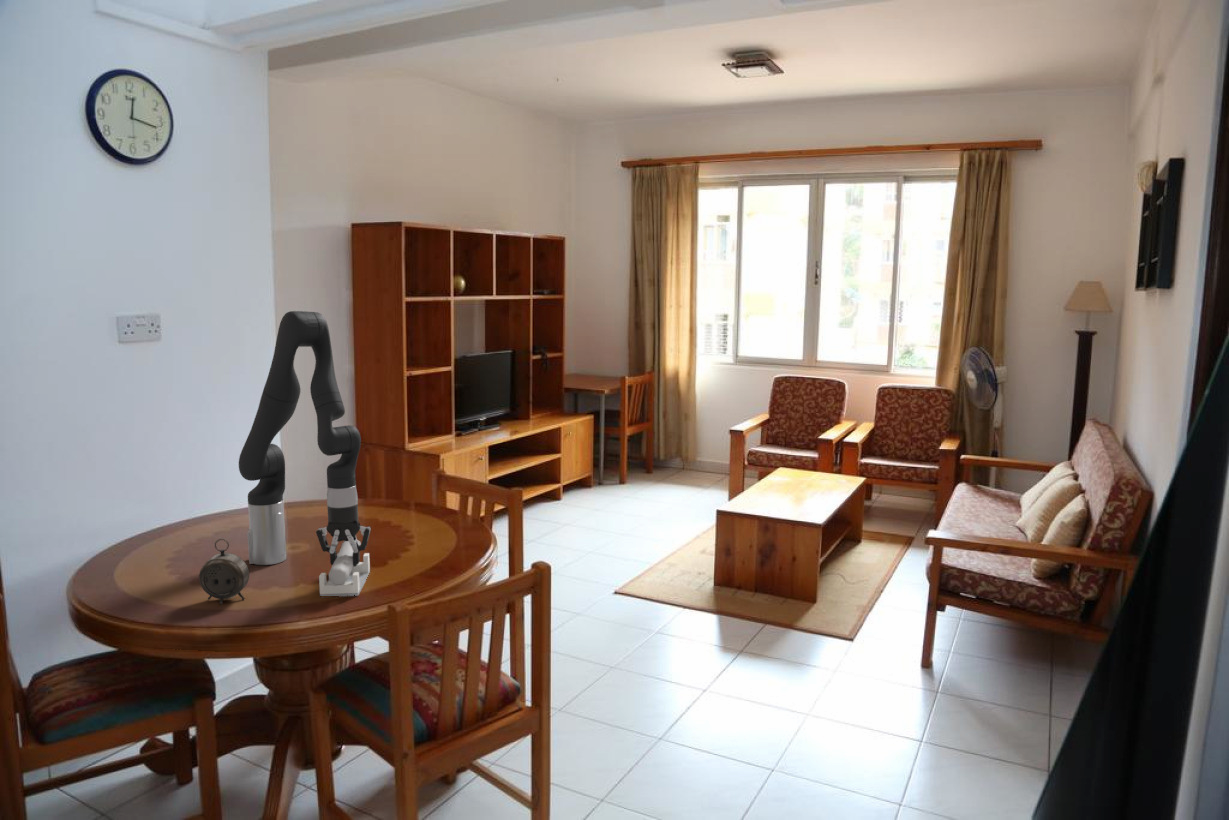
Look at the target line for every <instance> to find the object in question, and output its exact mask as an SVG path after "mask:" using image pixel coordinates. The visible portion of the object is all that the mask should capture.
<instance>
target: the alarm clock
mask: <svg viewBox="0 0 1229 820" xmlns="http://www.w3.org/2000/svg"><path fill="white" fill-rule="evenodd" d="M219 541H224V542H225V543H226V544H227V547H226V549H223V548H222V549H218V547H217V543H218V542H219ZM229 543H230V542H229V541H228V540H227V539H226V538H218V539H217V540H216V541H215V543H214V548H215V550H216V551H218V552H219V553H216V554H215V555H213V556H211V557H210V558H209V559H208V560H206V562H205V563H204V564H203V565H202V566H201V568H200V570H199V574H198V580H199V584H200V586H201V588H202V590H203V591H204V592H205V593H206V594H207V595H208V597H207V600H208V601H209V600H211V598H215V599H218V600H219V604H220V605H223V601H224V600H228V599H231V598H234V597H235V596H237V595H238V596H239V597H240V598H241V600H243V601H245V600H244V599H246V597H244V595H243V594H242V593H241V592H242V591H243V589H245V587H246V586H247V585H248V582H249V579H250V570H249V567H248V565H247V563H246V561H244V560H243V559H242V558H241V557H240V556H239V555H237V554H235V553H231V552H226V551H228V549H229V546H230V544H229Z"/></svg>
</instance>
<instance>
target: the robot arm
mask: <svg viewBox="0 0 1229 820" xmlns="http://www.w3.org/2000/svg"><path fill="white" fill-rule="evenodd" d="M330 335H331V333H330V329H329V325H328V322H327V320H326V318H325V316H324V315H323V314H322V313H320V312H315V311H305V310H304V311H302V310H293V311H292V310H290V311H288V312H285V313H284V315H283V316H282V318H281V319H280V323H279V326H278V329H277V336H276V340H275V346H274V351H273V356H272V360H271V364H270V368H269V372H268V376H267V379H266V382H265V383H264V387H263V391H262V394H261V397H260V400H259V404H258V408H257V411H256V414H255V417H254V420H253V423H252V426H251V429H250V431H249V432H248V433H249V434H248V435H247V438H246V440H245V442H244V445H243V447H242V449H241V452H240V454H239V458H238V471H239V473H240V475H241V476H242V478H243V479H244V480H246V481H252V482H253V481H255V482H256V481H258V483H257V485H256V486H254V487H253V488H252V489H251V490H249V492H248V493H247V509H248V510H247V511H248V524H249V525H248V526H249V529H248V530H247V534H246V536H247V546H248V547H247V548H248V561H249V562H248V563H249V565H251V564H252V565H253V564H254V565H256V566H257V565H258V566H268V565H269V566H270V565H275V564H280V563H281V562H284V561H286V560H287V545H286V526H285V511H284V507H285V506H284V493H285V489H286V459H285V455H284V452H283V451H282V449H281V448H280V446H278V445H277V444H275V443H272V441H273V440H274V438H275V437H276V436H277V434H278V433H279V432H280V431H281V430H282V429H283V428H284V427H285V426H286V424H287V423H288V422H289V421H290V420H291V418H292V417H293V415H294V414H295V411H296V410H297V409H296V408H297V405H298V402H299V399H300V396H301V385H300V381H299V378H298V375H297V373H296V370H295V365H294V362H295V357H296V353H297V350H298V348H301V347H302V348H303V347H311V349H312V352H313V354H314V358H315V359H314V360H315V365H314V371H313V374H312V376H311V377H312V378H311V382H310V396H311V400H312V403H313V406H314V410H315V413H316V419H317V420H316V423H317V441H316V442H317V447H318V449H319V450H320V452H321V453H322V454H324V455H325V456H328V457H329V456H337V455H340V458H339V459H338V460H337V461H336V460H335V462H333V463H330V464H328V466H327V467H326V484H327V491H326V504H327V506H326V507H327V526H326V527H319V528H318V529H317V530H316V531H315V532H316V536H317V540H318V543H319V545H320V548H321V550H322V552H327V553H329V558H330V559H329V560H330V561H329V562H330V566H332V565H333V564H334V561H335V560H336V558H337V554H338V550H337V548H338V544H339V542H344V541H349V543H350V545H351V546H352V549H353V551H354V552H353V566H357V564H359V562H361V561H360V560H361V558H360V557H361V556H360V552H361V551H364V550H365V549H366V548H367V546H368V543H369V539H370V534H371V529H372V528H371V526H369V525H368V526H363V525H361V523H360V521H359V509H358V508H359V507H358V505H359V504H358V502H359V497H358V491H357V481H356V468H357V462H358V458H359V454H360V450H361V444H362V438H361V433H360V431H359V429H358V428H357V427H355V426H353V425H349V424H348V425H342V426H335V427H333V422H334V421H336V420H339V419H340V418H342V417H343V416H345V412H346V409H345V406H344V402H343V399H342V395H341V392H340V390H339V386H338V383H337V382H338V381H337V378H336V373H335V366H334V358H333V357H334V356H333V349H332V341H331V336H330ZM359 531H360V534H361V535H362V540H361V545H359V544H358V542H357V540H358V538H357V534H358V533H359ZM328 533H329V534H330V536H331V537H332V540H331V543H330V544H331V545H329V543H328V539H327V536H326V535H327V534H328Z"/></svg>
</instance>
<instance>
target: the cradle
mask: <svg viewBox="0 0 1229 820" xmlns="http://www.w3.org/2000/svg"><path fill="white" fill-rule="evenodd" d="M337 555H338V553H337ZM362 557H363V558H362V559H363V561H359V564H357V566H353V568H352V570H351V572H350V575H349V577H348V579H347V581H346V582H345V583H344V585H335V584H333V583H332V582H330V581H329V579H328V580H327V572H320V575H318V582H319V597H320V596H339V597H358V596H359V595H360V593H361V591H362V590H363V587H364V585H365V584H366V582H367V580H368V578H367V577H369V576H370V574H369V573H371V563H370V561H371V560H370V552H364V553H363V556H362ZM332 566H333V565H331V567H332ZM368 575H369V576H368ZM366 579H367V580H366ZM340 595H341V596H340ZM347 595H348V596H347ZM354 595H355V596H354Z"/></svg>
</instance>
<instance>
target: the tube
mask: <svg viewBox="0 0 1229 820" xmlns="http://www.w3.org/2000/svg"><path fill="white" fill-rule="evenodd" d="M357 542H358V544H359V545H361V543H362V541H360V540H358V539H357ZM353 552H354V551H353V549H352V546H351V545H350V543H349V541H342V543H341V547H340V548H339V551H338V552H337V554H338V555H337V558H336V560H335V561H334V564H333V566H332V565H331V568H330V570H329V572H328V580H329V581H330V582H332V583H333V584H335V585H344V583H345V582H346V581H347V579H348V577H349V575H350V572H351V570H352V568H353Z"/></svg>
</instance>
